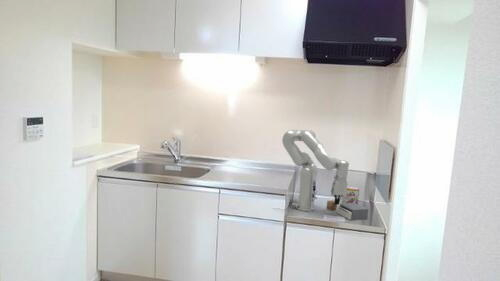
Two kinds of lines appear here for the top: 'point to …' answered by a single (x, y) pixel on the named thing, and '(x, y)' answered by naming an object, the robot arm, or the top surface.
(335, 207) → the block
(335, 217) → the top surface
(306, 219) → the top surface
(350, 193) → the candy bar box
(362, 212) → the grey low box
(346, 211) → the tray
